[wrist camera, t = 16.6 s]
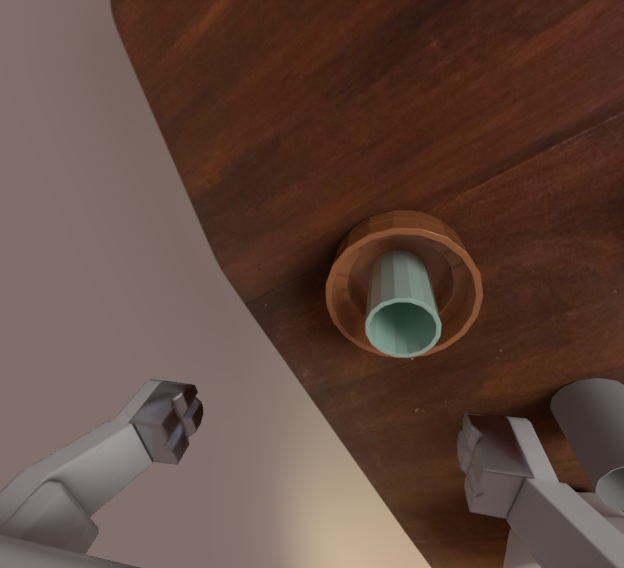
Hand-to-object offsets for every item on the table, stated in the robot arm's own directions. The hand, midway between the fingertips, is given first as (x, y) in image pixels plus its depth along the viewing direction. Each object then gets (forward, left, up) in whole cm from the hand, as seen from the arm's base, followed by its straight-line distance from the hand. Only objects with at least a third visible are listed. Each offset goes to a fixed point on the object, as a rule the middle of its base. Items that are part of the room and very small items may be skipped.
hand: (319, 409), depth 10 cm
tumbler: (+6, -6, -25) cm, 27 cm away
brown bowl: (+6, -6, -26) cm, 27 cm away
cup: (+34, -14, -26) cm, 45 cm away
